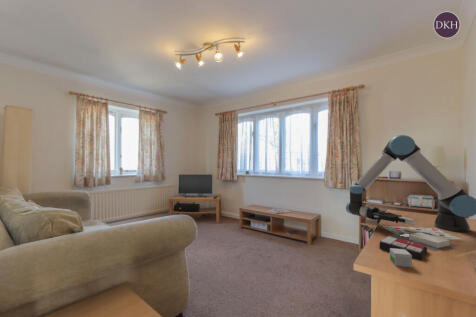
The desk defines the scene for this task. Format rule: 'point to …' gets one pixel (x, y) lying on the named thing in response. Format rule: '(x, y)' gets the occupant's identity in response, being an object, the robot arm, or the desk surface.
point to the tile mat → (420, 243)
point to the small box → (400, 257)
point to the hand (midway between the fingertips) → (413, 222)
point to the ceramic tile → (429, 240)
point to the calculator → (404, 247)
